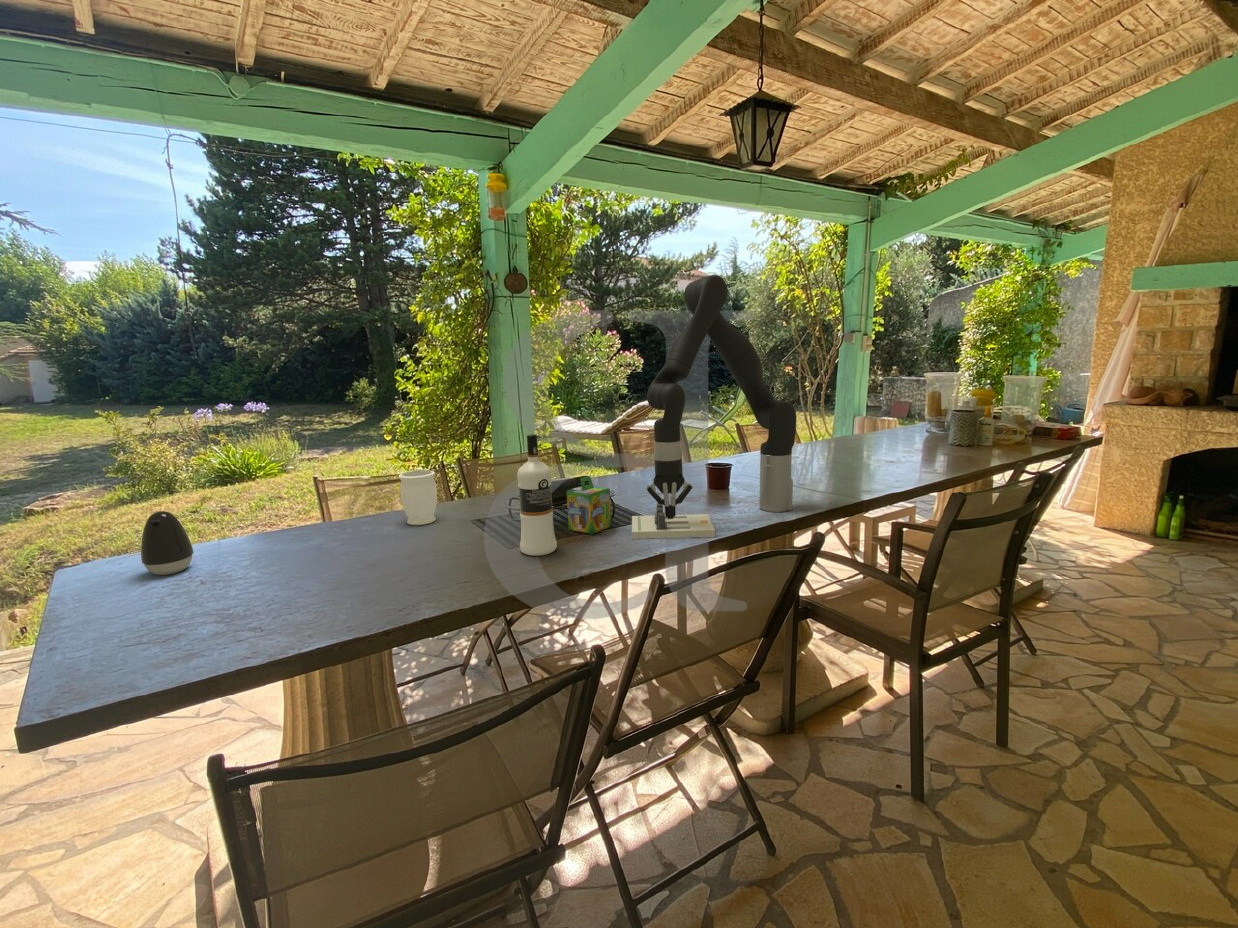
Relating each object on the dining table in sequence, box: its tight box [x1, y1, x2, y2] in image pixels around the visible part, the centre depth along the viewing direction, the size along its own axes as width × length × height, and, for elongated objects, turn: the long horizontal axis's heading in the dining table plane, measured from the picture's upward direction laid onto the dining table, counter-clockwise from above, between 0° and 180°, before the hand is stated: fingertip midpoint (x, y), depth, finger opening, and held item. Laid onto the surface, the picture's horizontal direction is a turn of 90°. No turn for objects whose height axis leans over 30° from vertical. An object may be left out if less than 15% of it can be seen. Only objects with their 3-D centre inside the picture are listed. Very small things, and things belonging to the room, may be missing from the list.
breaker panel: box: [631, 513, 716, 540], centre depth 169 cm, size 22×15×2 cm
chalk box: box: [566, 475, 612, 535], centre depth 171 cm, size 9×9×15 cm
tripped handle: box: [654, 507, 664, 524], centre depth 168 cm, size 3×3×4 cm
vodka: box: [516, 433, 558, 557], centre depth 152 cm, size 9×9×30 cm
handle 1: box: [654, 502, 664, 518], centre depth 173 cm, size 3×3×4 cm
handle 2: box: [656, 512, 667, 529], centre depth 164 cm, size 3×3×4 cm
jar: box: [398, 469, 438, 526], centre depth 183 cm, size 11×10×15 cm
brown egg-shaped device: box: [140, 510, 194, 576], centre depth 147 cm, size 10×10×15 cm
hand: (670, 518), depth 168 cm, fingers closed
